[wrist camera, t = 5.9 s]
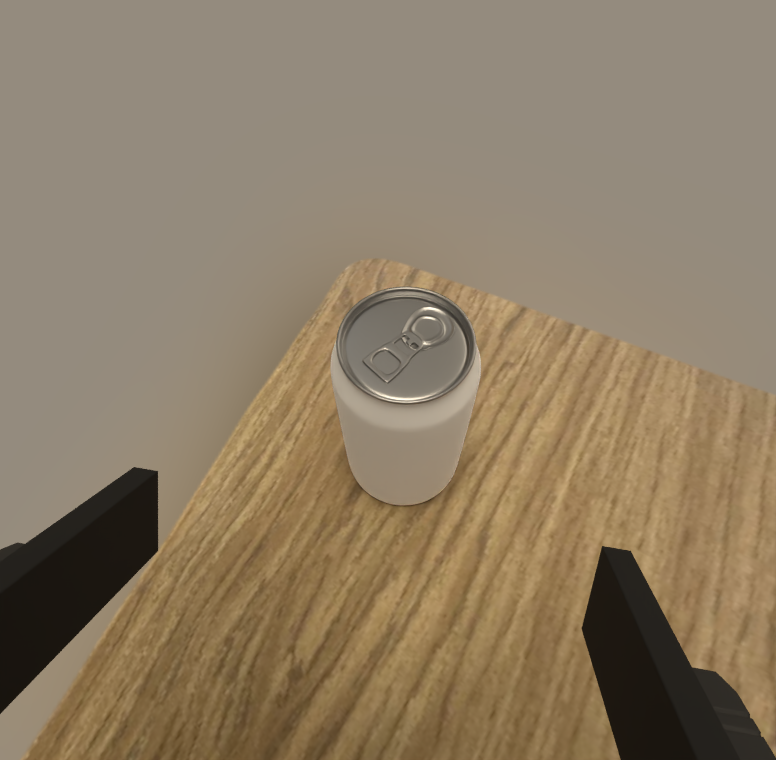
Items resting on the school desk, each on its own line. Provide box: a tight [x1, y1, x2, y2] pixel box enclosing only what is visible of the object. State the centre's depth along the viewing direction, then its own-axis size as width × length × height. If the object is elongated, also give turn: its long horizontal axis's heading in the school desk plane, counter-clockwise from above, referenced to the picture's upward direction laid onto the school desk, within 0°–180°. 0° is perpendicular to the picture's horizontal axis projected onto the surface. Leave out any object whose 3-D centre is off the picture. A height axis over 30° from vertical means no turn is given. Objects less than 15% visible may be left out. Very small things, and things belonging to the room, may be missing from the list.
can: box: [331, 287, 481, 505], centre depth 27 cm, size 6×6×12 cm
